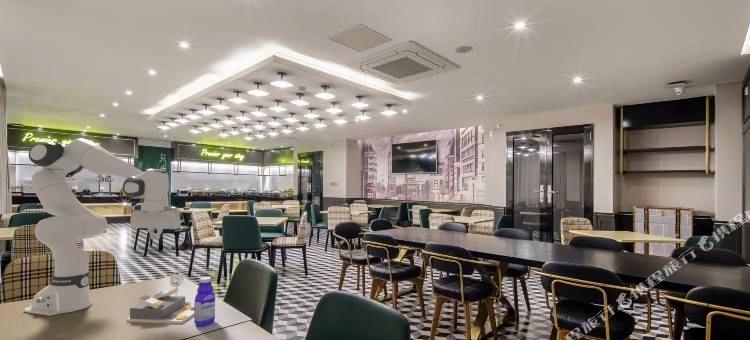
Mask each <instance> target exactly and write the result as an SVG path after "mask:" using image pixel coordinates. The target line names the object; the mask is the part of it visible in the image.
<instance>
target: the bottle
mask: <svg viewBox="0 0 750 340" xmlns="http://www.w3.org/2000/svg"><path fill="white" fill-rule="evenodd" d="M198 283H199V284H198V287H197V288H196V292H197V293H196V294H195V297H194V306H195V312H194V316H193V317H194V320H193V321H194V324H195V325H196V326H198V327H204V326H206V325H209V324H212V323H214V321H215V318H216V294H215V293H214V287H213V285H212V277H211V276H202V277H200V278H199V282H198Z"/></svg>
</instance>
